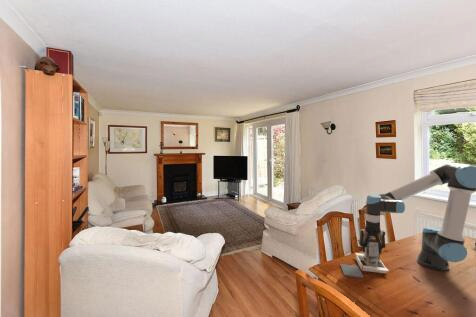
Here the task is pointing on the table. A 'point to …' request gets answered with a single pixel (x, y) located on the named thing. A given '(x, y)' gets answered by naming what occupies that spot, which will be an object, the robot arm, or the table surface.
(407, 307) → the table surface
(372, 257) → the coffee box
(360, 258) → the white flat frame piece
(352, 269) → the plate
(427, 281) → the table surface
